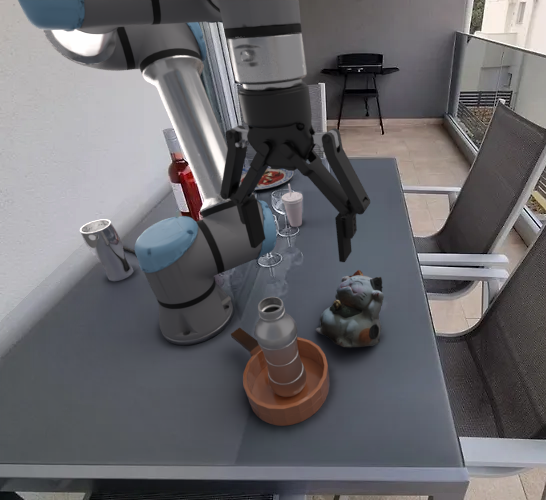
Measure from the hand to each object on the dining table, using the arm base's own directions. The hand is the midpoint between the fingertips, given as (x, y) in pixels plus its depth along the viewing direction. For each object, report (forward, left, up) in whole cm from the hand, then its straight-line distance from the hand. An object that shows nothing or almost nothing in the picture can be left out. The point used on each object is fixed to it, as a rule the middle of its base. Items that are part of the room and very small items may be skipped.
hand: (300, 249), depth 49 cm
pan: (-2, -5, -28) cm, 29 cm away
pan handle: (-13, -5, -26) cm, 30 cm away
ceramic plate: (-81, +52, -29) cm, 101 cm away
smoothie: (-44, +36, -29) cm, 64 cm away
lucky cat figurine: (-2, +13, -29) cm, 31 cm away
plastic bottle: (-2, -5, -28) cm, 29 cm away
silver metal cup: (-63, -10, -29) cm, 70 cm away
